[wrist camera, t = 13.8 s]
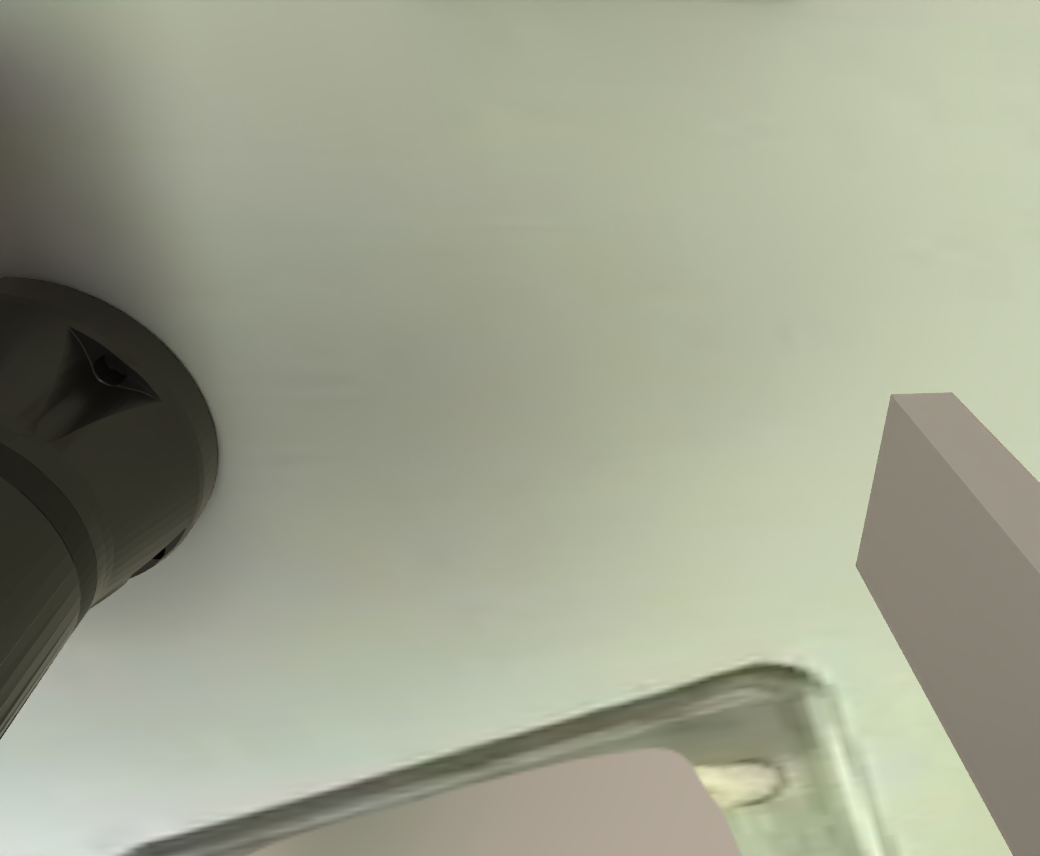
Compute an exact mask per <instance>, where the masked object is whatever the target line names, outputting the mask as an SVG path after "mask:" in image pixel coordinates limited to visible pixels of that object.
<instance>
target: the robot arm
mask: <svg viewBox="0 0 1040 856" xmlns="http://www.w3.org/2000/svg"><path fill="white" fill-rule="evenodd" d="M217 464H218V451H217V441H216V435H215V431H214V427H213V423H212V420H211V417H210V414H209V411H208V409H207V406H206V404H205V402H204V400H203V398H202V396H201V394H200V392H199V390H198V388H197V387H196V385H195V383H194V382H193V380H192V379H191V377H190V376H189V374H188V373H187V372H186V370H185V369H184V368H183V366H182V365H181V364H180V362H179V361H178V360H177V359H176V358H175V357H174V355H173V354H172V353H171V352H170V351H169V350H168V349H167V348H166V347H165V346H164V345H163V344H162V343H161V342H160V341H159V340H158V339H157V338H156V337H154V336H153V335H152V334H151V333H150V332H148V331H147V330H146V329H145V328H144V327H142V326H141V325H140V324H138V323H137V322H135V321H134V320H133V319H131V318H130V317H128V316H127V315H125V314H123V313H122V312H120V311H119V310H117V309H115V308H113V307H112V306H110V305H108V304H106V303H104V302H102V301H100V300H98V299H96V298H94V297H91V296H89V295H87V294H84V293H82V292H79V291H76V290H73V289H71V288H68V287H64V286H61V285H57V284H53V283H49V282H44V281H39V280H32V279H23V278H0V739H1V738H2V736H3V735H4V733H5V732H6V730H7V729H8V727H9V726H10V724H11V723H12V721H13V720H14V718H15V717H16V715H17V714H18V712H19V711H20V710H21V708H22V707H23V705H24V704H25V702H26V701H27V699H28V698H29V696H30V695H31V693H32V692H33V690H34V689H35V687H36V686H37V684H38V683H39V681H40V680H41V678H42V677H43V675H44V674H45V672H46V671H47V669H48V668H49V666H50V665H51V663H52V662H53V660H54V659H55V658H56V656H57V655H58V653H59V652H60V650H61V649H62V647H63V646H64V644H65V643H66V641H67V640H68V638H69V637H70V635H71V634H72V633H73V631H74V630H75V628H76V627H77V625H78V624H79V623H80V621H81V620H82V618H83V617H84V615H85V614H86V613H87V611H88V610H89V609H90V608H92V607H93V606H95V605H96V604H98V603H99V602H101V601H102V600H104V599H105V598H107V597H108V596H110V595H111V594H112V593H114V592H115V591H117V590H118V589H119V588H120V587H122V586H123V585H124V584H125V583H126V582H127V581H128V580H129V579H130V578H132V577H134V576H137V575H139V574H141V573H143V572H145V571H146V570H148V569H150V568H151V567H153V566H155V565H156V564H158V563H159V562H160V561H162V560H163V559H164V558H166V557H167V556H168V555H169V554H170V553H171V552H172V551H174V549H175V548H176V547H177V546H178V545H179V544H180V543H181V542H182V541H183V540H184V538H185V537H186V536H187V534H188V533H189V531H190V530H191V528H192V527H193V525H194V523H195V522H196V520H197V518H198V517H199V515H200V514H201V512H202V510H203V509H204V507H205V505H206V504H207V502H208V500H209V498H210V495H211V493H212V490H213V487H214V483H215V479H216V473H217ZM856 567H857V569H858V571H859V573H860V575H861V577H862V578H863V580H864V582H865V584H866V586H867V588H868V589H869V591H870V593H871V595H872V597H873V599H874V601H875V602H876V604H877V606H878V608H879V610H880V612H881V613H882V615H883V617H884V619H885V621H886V623H887V624H888V626H889V628H890V630H891V632H892V634H893V635H894V637H895V639H896V641H897V643H898V645H899V647H900V648H901V650H902V652H903V654H904V656H905V658H906V659H907V661H908V663H909V665H910V667H911V669H912V670H913V672H914V674H915V676H916V678H917V680H918V681H919V683H920V685H921V687H922V689H923V691H924V692H925V694H926V696H927V698H928V700H929V702H930V704H931V705H932V707H933V709H934V711H935V713H936V715H937V716H938V718H939V720H940V722H941V724H942V726H943V727H944V729H945V731H946V733H947V735H948V737H949V738H950V740H951V742H952V744H953V746H954V748H955V750H956V751H957V753H958V755H959V757H960V759H961V761H962V762H963V764H964V766H965V768H966V770H967V772H968V773H969V775H970V777H971V779H972V781H973V783H974V784H975V786H976V788H977V790H978V792H979V794H980V795H981V797H982V799H983V801H984V803H985V805H986V807H987V808H988V810H989V812H990V814H991V816H992V818H993V819H994V821H995V823H996V825H997V827H998V829H999V830H1000V832H1001V834H1002V836H1003V838H1004V840H1005V841H1006V843H1007V845H1008V847H1009V849H1010V851H1011V853H1012V854H1013V856H1040V483H1039V482H1038V481H1037V480H1036V479H1035V478H1034V477H1033V476H1032V475H1031V473H1030V472H1029V471H1028V470H1027V469H1026V468H1025V467H1024V466H1023V465H1022V464H1021V463H1020V462H1019V461H1018V460H1017V459H1016V458H1015V457H1014V456H1013V455H1012V454H1011V453H1010V452H1009V451H1008V450H1007V449H1006V448H1005V447H1004V446H1003V445H1002V444H1001V443H1000V441H999V440H998V439H997V438H996V437H995V436H994V435H993V434H992V433H991V432H990V431H989V430H988V429H987V428H986V427H985V426H984V425H983V424H982V423H981V422H980V421H979V420H978V419H977V418H976V417H975V416H974V415H973V414H972V413H971V412H970V410H969V409H968V408H967V407H966V406H965V405H964V404H963V403H962V402H961V401H960V400H959V399H958V398H957V397H956V396H955V395H954V394H953V393H922V394H892V395H891V397H890V402H889V407H888V412H887V416H886V421H885V426H884V431H883V436H882V441H881V446H880V450H879V455H878V460H877V465H876V470H875V475H874V480H873V484H872V489H871V494H870V499H869V504H868V509H867V514H866V518H865V523H864V528H863V533H862V538H861V543H860V548H859V552H858V557H857V562H856Z"/></svg>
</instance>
